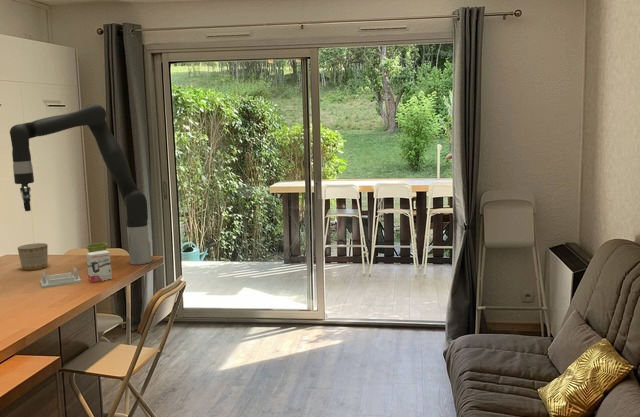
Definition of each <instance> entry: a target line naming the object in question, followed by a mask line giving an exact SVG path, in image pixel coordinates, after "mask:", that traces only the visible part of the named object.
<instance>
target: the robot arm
mask: <svg viewBox="0 0 640 417" xmlns="http://www.w3.org/2000/svg"><path fill="white" fill-rule="evenodd" d="M106 118H107V111H106V109H105V108H104V107H103V106H102V105H100V104H97V103H93V104H92V103H91V104H89V105H87V106H85V107H84V108H82V109H79V110H76V111H73V112H69V113H64V114H59V115H53V116H49V117H44V118H41V119H40V118H39V119H36V120H34V121H30V122H25V123H19V124H15V125H13V126H12V127H10V129H9V136H10V143H11V147H12V151H11V154H12V155H11V156H12V168H13V179H14V184H16V185H20V188H19V190H20V195H21V198H22V200H23V202H22V203H23V208H24V212H31V211H32V208H31V198H32V195H31V187H30V186H29V184H33V183H34V182H35V179H34V178H35V176H34V169H33V164H32V163H33V162H32V156H31V155H32V154H31V150H30V139H33V138H38V137H44V136H49V135H52V134H56V133H59V132H63V131H66V130H69V129H73V128H76V127H82V126H87V127H88V128H89V130H90V132H91V133H92V135H93V137H94V138H95V141H96V144H97V147H98V150H99V152H100V154H101V157H102V160H103V161H104V164H105V166H106V168H107V169H108V172H109V173H110V175H111V177H112V178H113V181H114V182H115V184H116V185H117V187H118V189H119V192H120V196H121V198H122V201H123V204H124V207H125V208H126V230H127V231H126V233H127V242H128V244H127V245H128V254H129V263H130V265H144V264H148V263H152V259H153V258H152V250H151V249H152V248H151V241H150V238H149V225H148V224H149V222H148V220H149V214H148V212H149V211H148V200H147V197H146V195H145V194H144V193H142V192H141V191H140V190H139V189H138V187H137V184H136V183H135V181H134V179H133V176H132V172H131V168H130V165H129V161H128V159H127V157H126V154H125V153H124V150H123V149H122V147H121V145H120V144H119V142H118V141H117V139H116V138H115V136H114V135H113V134H112V132H111V130H110V128H109V125H108V123H107V121H106Z"/></svg>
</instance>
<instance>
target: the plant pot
mask: <svg viewBox="0 0 640 417" xmlns="http://www.w3.org/2000/svg"><path fill="white" fill-rule="evenodd" d="M107 247H108V243H106V242H97V243H91V244H87V245H86V249H87V252H88V253H90V252H96V251H103V250H107Z"/></svg>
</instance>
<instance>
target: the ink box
mask: <svg viewBox="0 0 640 417" xmlns="http://www.w3.org/2000/svg"><path fill="white" fill-rule="evenodd" d="M85 256H86V264H87V265H86V267H87V275H88V281H89V282H90V283H99V282H102V281H103V282H104V280H105V281H109V280H108V279H111V280H112V279H113V274H112V263H111V253H110V251H108V250H107V249H106V250H103V251H96V252H90V253H89V252H87V253H86V254H85Z"/></svg>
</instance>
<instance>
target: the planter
mask: <svg viewBox="0 0 640 417" xmlns="http://www.w3.org/2000/svg"><path fill="white" fill-rule="evenodd" d="M48 245H49V244H47V243H43V242H42V243H40V242H38V243H37V242H36V243H29V244H24V245H23V244H22V245H19V246H17V252H18V256H19V261H20V267H21V269H22V270H24V271H29V270H30V271H38V270H42V269H46V268H47V267H48V264H49V263H48V257H49V256H48V255H49V253H48V252H49V251H48Z"/></svg>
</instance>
